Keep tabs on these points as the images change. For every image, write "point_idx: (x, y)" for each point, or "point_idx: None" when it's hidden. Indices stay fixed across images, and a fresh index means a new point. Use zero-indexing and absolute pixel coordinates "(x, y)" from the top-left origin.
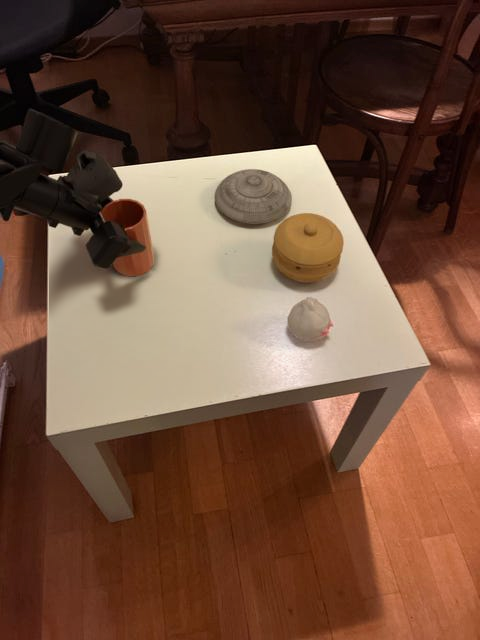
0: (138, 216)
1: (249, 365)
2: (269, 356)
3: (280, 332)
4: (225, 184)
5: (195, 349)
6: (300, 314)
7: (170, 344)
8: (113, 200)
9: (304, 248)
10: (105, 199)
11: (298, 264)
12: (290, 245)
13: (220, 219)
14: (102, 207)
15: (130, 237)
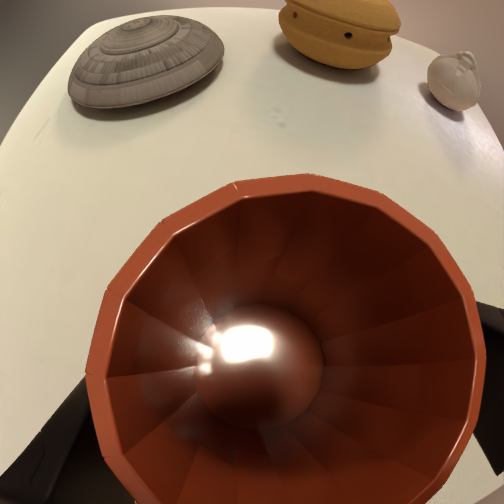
0: (195, 286)
1: (499, 181)
2: (483, 153)
3: (450, 124)
4: (97, 72)
5: (498, 248)
6: (475, 77)
7: (495, 290)
8: (55, 416)
9: (389, 4)
10: (67, 487)
11: (397, 30)
12: (382, 9)
13: (163, 115)
14: (109, 499)
15: (494, 327)
